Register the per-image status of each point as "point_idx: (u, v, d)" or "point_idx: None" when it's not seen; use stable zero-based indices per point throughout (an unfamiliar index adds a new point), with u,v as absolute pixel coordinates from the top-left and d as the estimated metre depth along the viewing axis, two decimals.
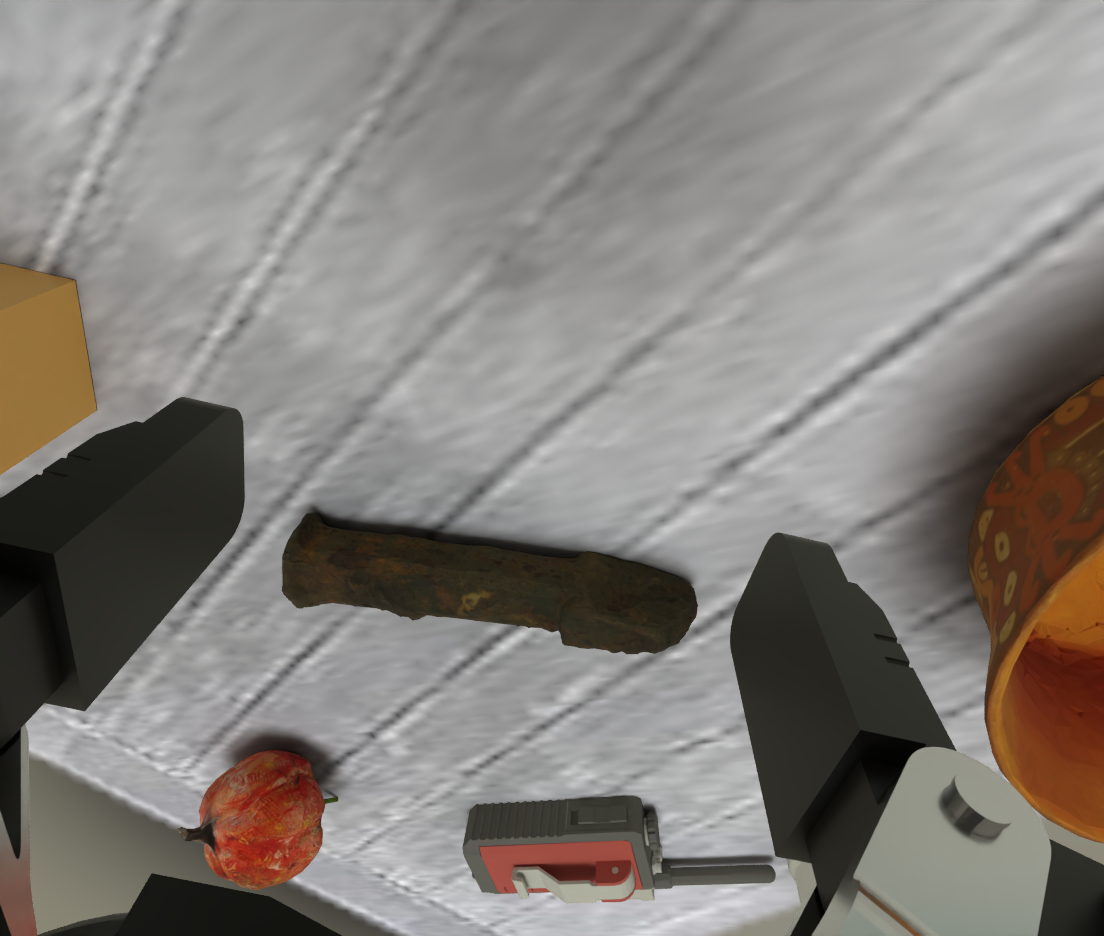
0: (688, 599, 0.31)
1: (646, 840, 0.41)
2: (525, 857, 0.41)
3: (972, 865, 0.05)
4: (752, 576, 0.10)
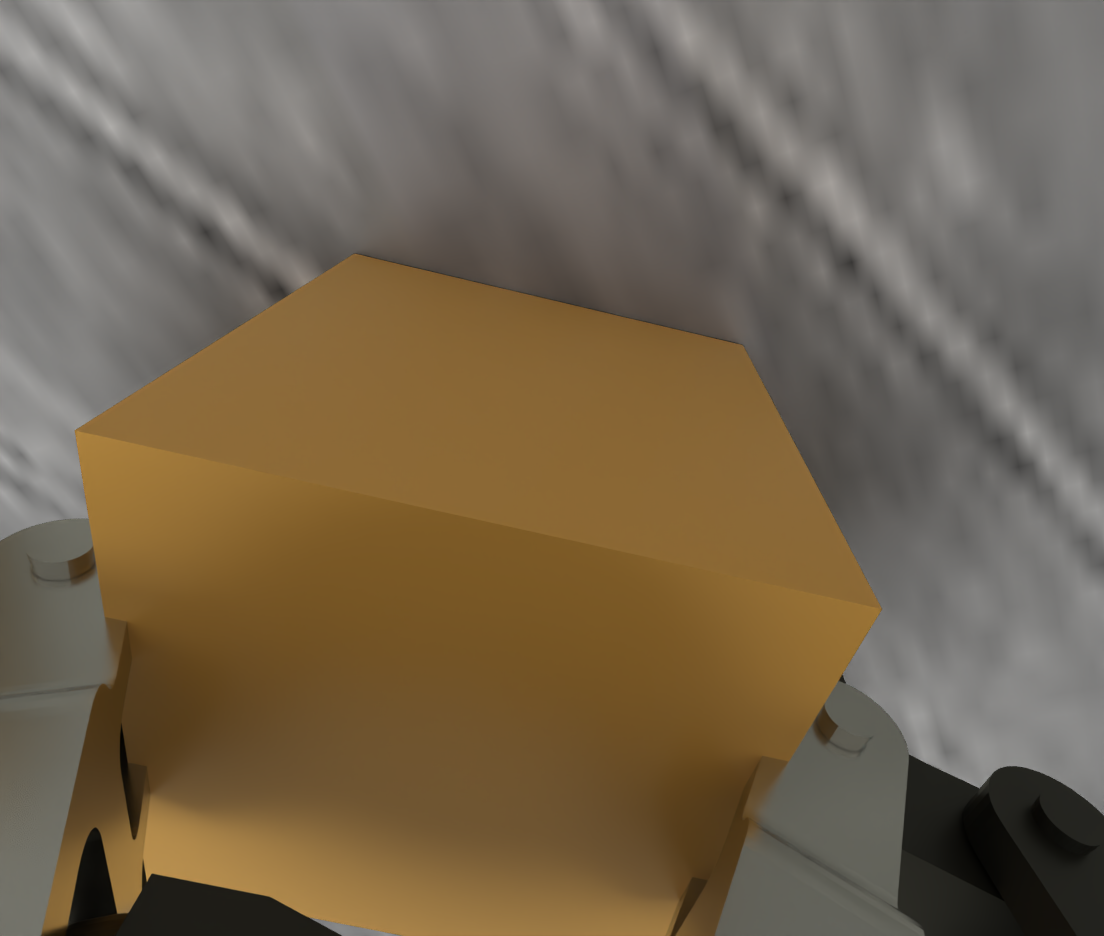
0: None
1: None
2: None
3: (844, 780, 0.06)
4: None
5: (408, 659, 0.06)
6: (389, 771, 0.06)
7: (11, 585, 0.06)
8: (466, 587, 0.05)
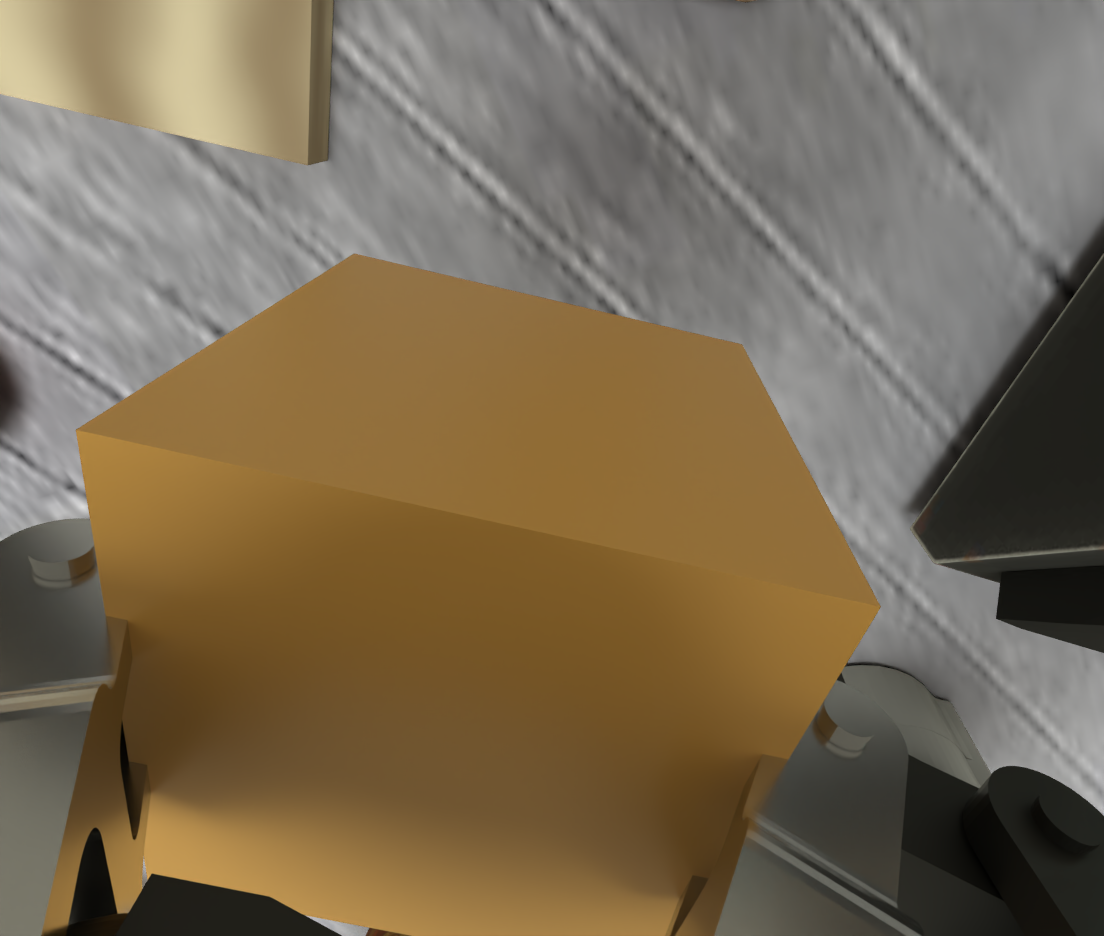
0: None
1: None
2: None
3: (844, 780, 0.06)
4: None
5: (408, 658, 0.06)
6: (389, 769, 0.06)
7: (11, 585, 0.06)
8: (466, 586, 0.05)
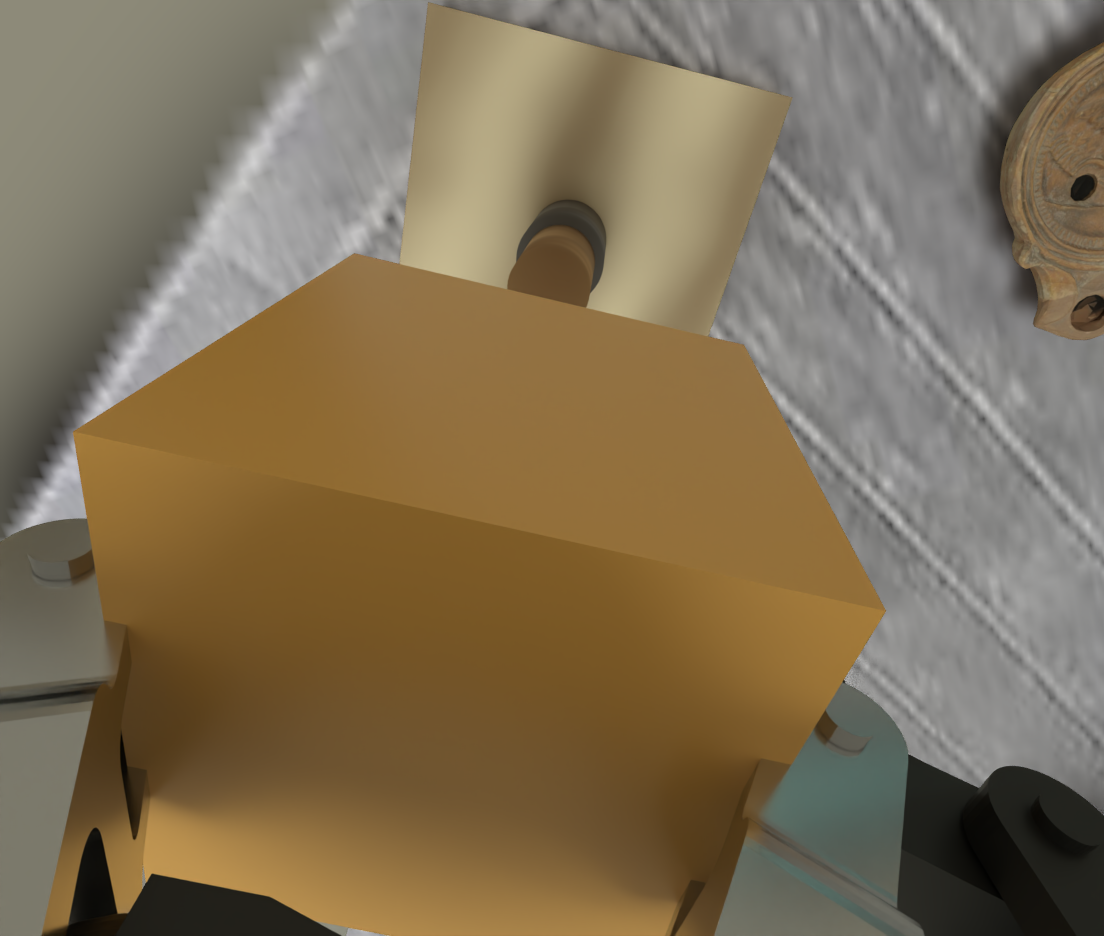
0: None
1: None
2: None
3: (844, 780, 0.06)
4: None
5: (409, 661, 0.06)
6: (390, 774, 0.06)
7: (11, 585, 0.06)
8: (467, 589, 0.05)
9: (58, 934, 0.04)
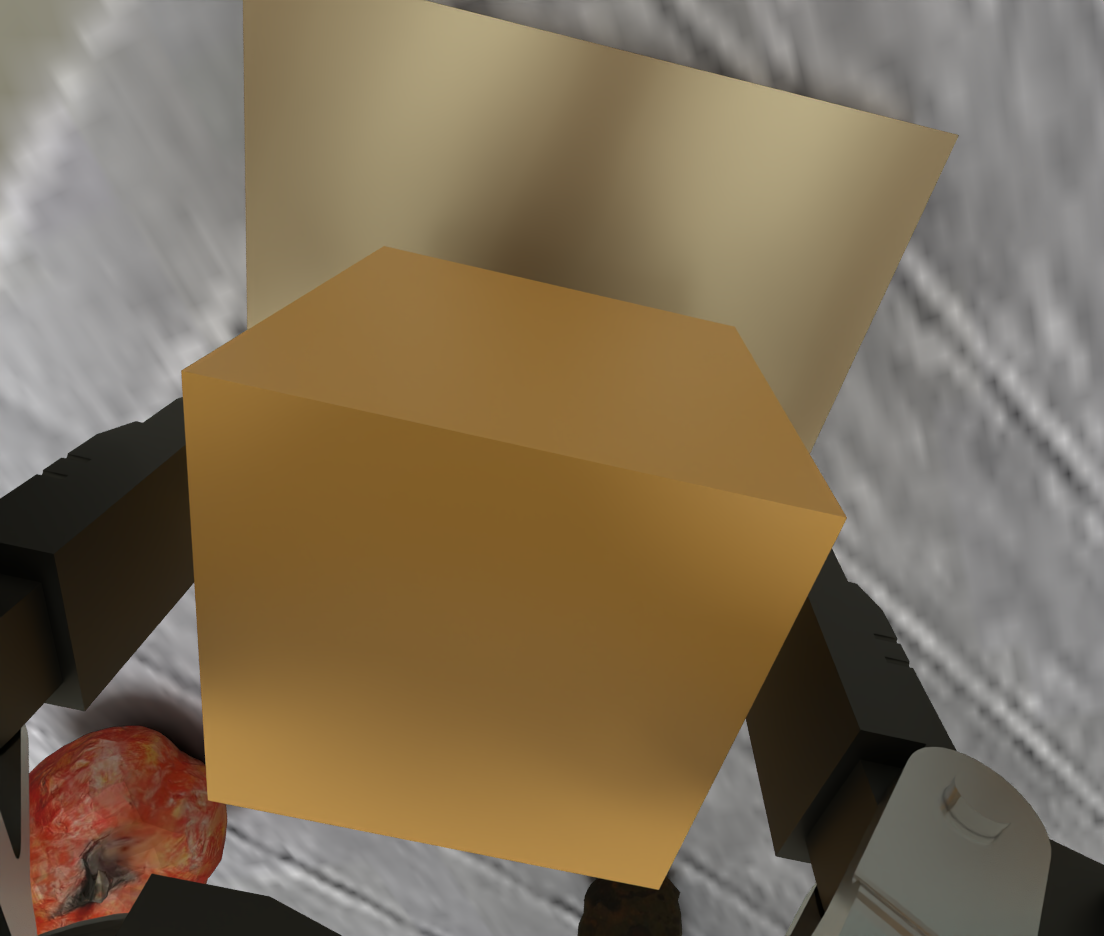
0: None
1: None
2: None
3: (972, 865, 0.05)
4: None
5: (449, 572, 0.07)
6: (429, 680, 0.07)
7: None
8: (500, 505, 0.06)
9: None
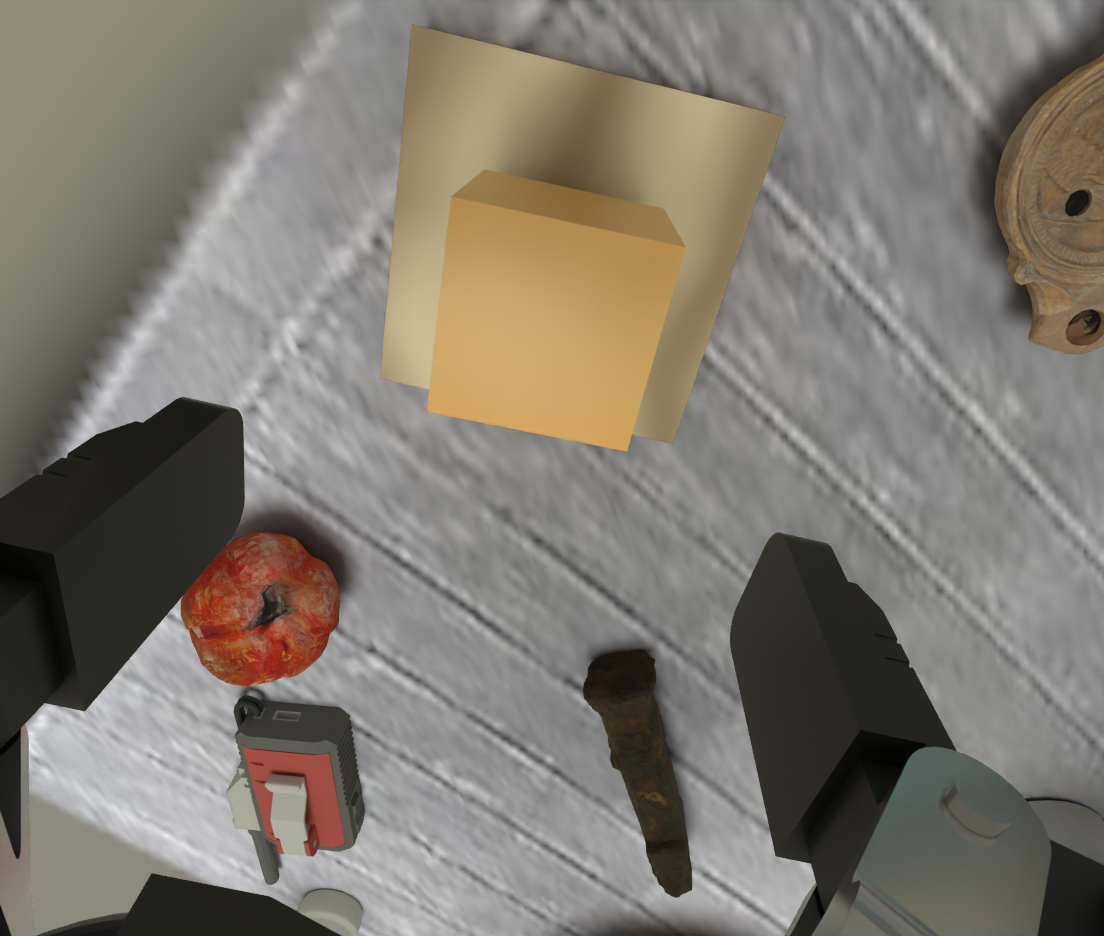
0: None
1: None
2: (317, 783, 0.42)
3: (972, 865, 0.05)
4: (752, 576, 0.10)
5: (541, 279, 0.17)
6: (530, 334, 0.18)
7: None
8: (561, 247, 0.17)
9: None
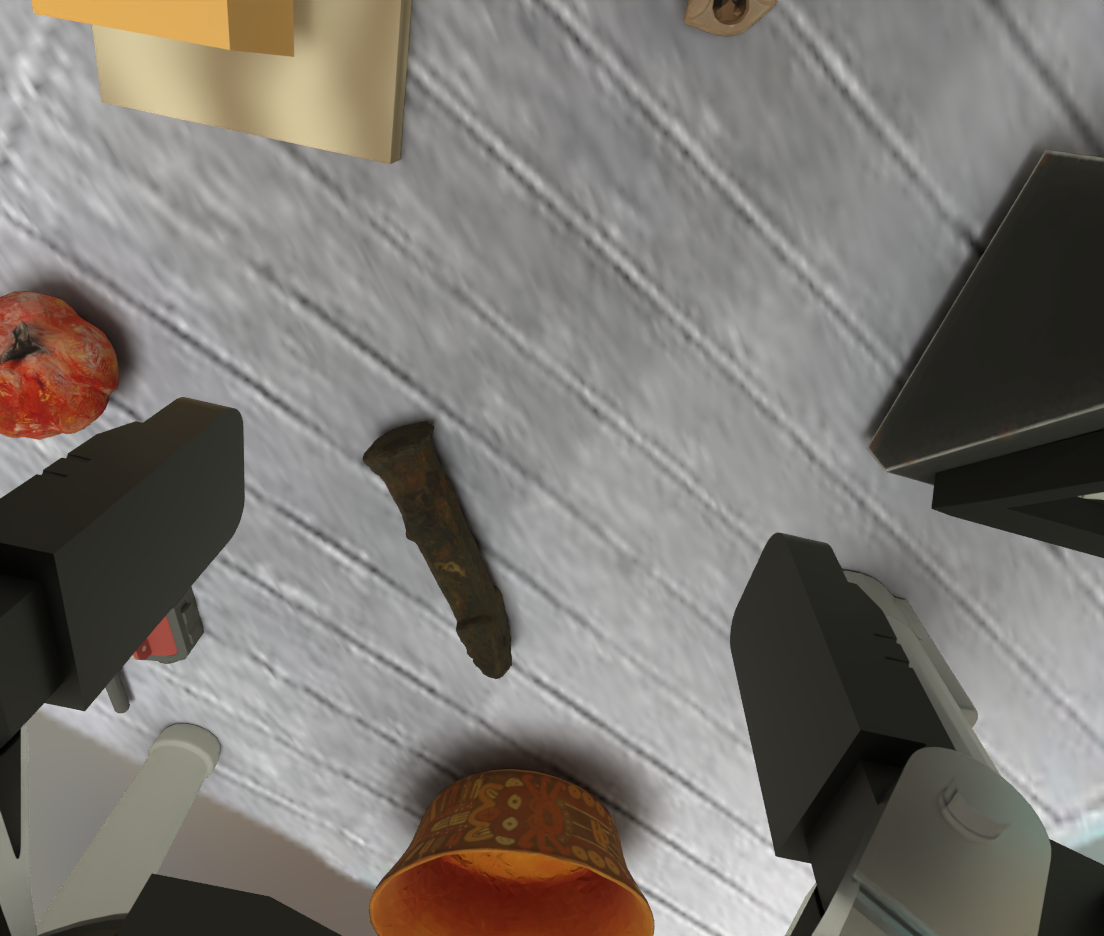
0: None
1: None
2: None
3: (972, 865, 0.05)
4: (752, 576, 0.10)
5: None
6: None
7: None
8: None
9: None
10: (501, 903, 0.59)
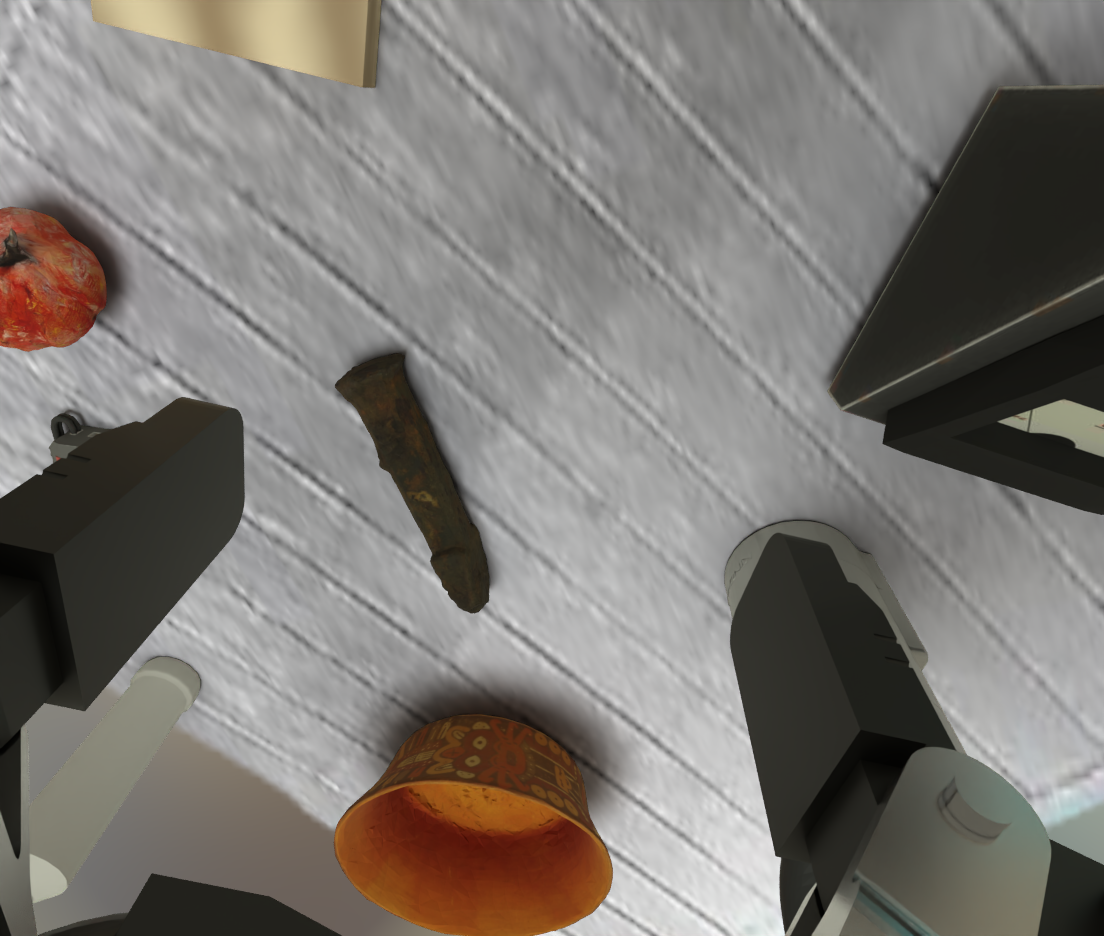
0: (487, 596, 0.48)
1: None
2: None
3: (972, 865, 0.05)
4: (752, 576, 0.10)
5: None
6: None
7: None
8: None
9: None
10: (469, 853, 0.60)
